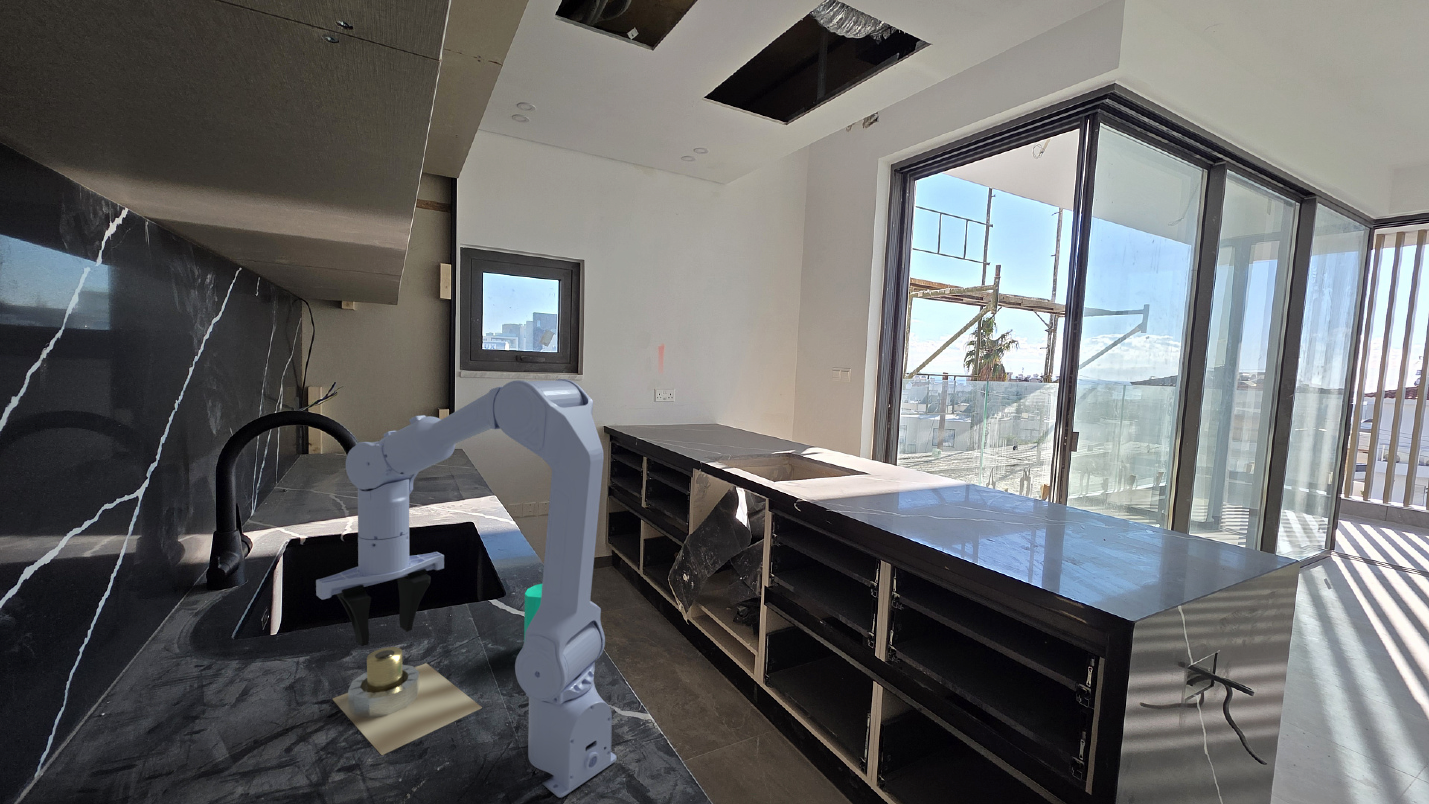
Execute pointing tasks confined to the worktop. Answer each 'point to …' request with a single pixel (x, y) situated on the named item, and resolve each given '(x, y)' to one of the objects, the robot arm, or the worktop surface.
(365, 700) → the bore collar
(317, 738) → the worktop surface
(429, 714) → the jig plate
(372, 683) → the brass sleeve
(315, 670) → the worktop surface
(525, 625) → the candle
